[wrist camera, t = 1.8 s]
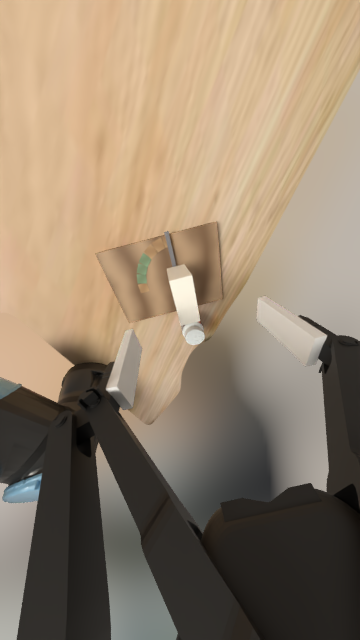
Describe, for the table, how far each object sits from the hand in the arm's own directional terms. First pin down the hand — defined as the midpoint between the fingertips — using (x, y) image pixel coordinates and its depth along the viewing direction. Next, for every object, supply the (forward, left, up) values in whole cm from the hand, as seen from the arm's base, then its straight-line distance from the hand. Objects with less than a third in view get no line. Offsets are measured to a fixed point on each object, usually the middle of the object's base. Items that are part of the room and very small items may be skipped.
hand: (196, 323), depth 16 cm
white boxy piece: (0, +2, -17) cm, 17 cm away
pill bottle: (0, -11, -19) cm, 22 cm away
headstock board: (-2, 0, -19) cm, 19 cm away
